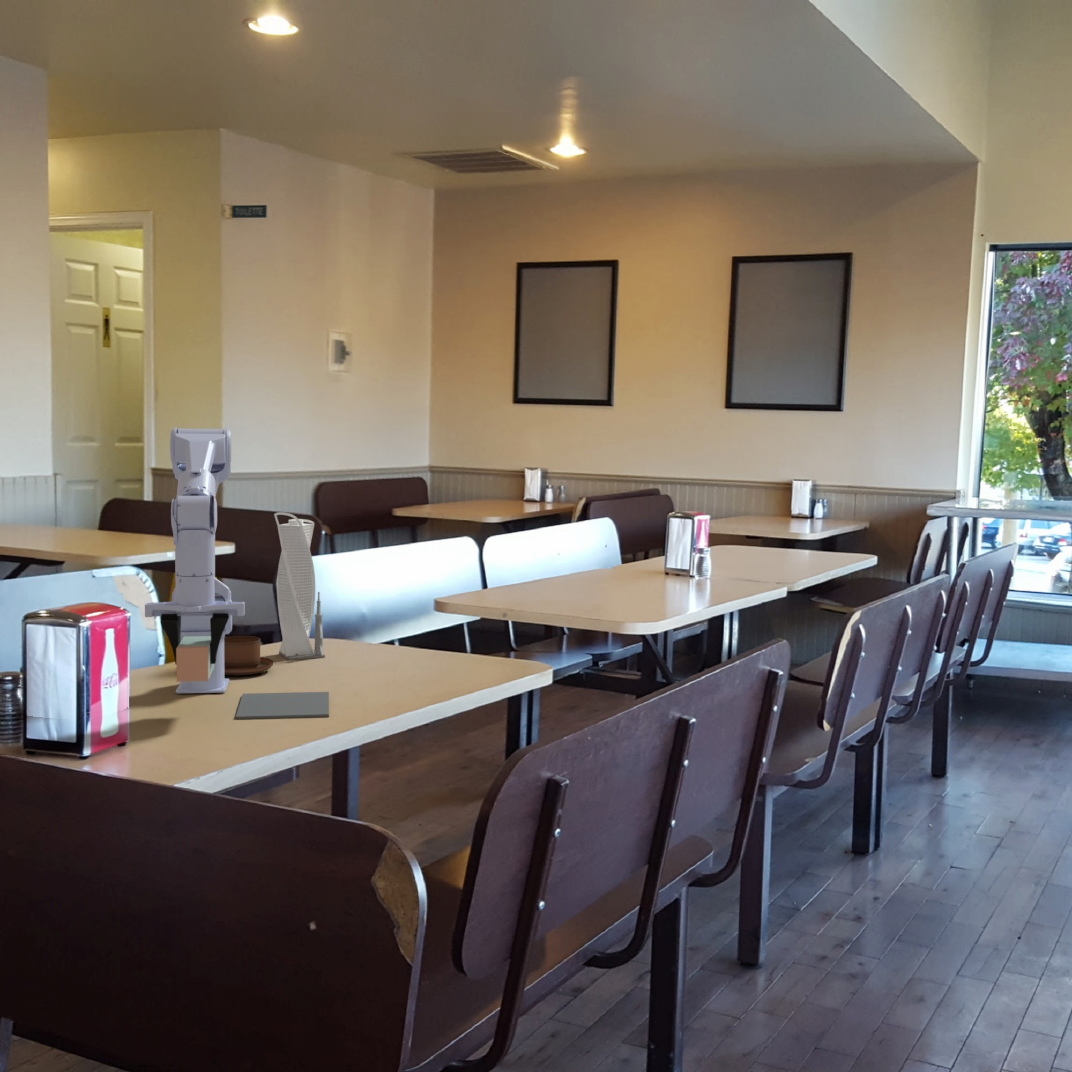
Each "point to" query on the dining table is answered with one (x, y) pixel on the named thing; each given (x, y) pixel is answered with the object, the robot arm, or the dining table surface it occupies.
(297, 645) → the skyscraper
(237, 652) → the cup and saucer
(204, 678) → the green and orange block
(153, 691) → the dining table surface
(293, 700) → the rubber mat
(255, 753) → the dining table surface
